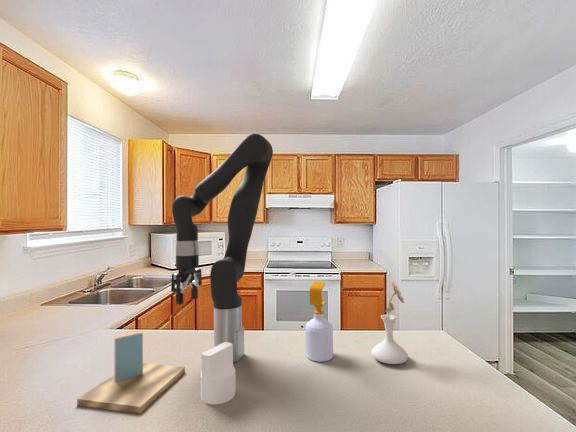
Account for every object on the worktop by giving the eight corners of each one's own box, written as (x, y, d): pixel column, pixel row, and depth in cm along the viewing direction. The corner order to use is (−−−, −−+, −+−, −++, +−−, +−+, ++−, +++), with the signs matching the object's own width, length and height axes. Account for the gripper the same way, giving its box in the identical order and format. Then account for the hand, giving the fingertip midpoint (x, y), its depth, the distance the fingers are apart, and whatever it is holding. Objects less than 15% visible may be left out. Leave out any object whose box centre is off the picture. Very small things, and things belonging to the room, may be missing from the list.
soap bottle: (336, 352, 104) (334, 281, 105) (328, 364, 96) (326, 286, 96) (311, 348, 108) (310, 279, 108) (302, 359, 100) (300, 284, 100)
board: (185, 372, 92) (184, 367, 92) (140, 413, 73) (140, 406, 73) (133, 367, 96) (133, 362, 96) (77, 405, 76) (77, 398, 76)
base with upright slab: (218, 408, 74) (217, 359, 74) (193, 397, 79) (192, 351, 79) (242, 390, 82) (241, 345, 82) (218, 381, 87) (217, 339, 87)
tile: (114, 379, 86) (113, 336, 86) (141, 371, 90) (140, 330, 90) (115, 382, 84) (115, 339, 84) (143, 374, 88) (142, 333, 88)
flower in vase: (399, 372, 90) (397, 287, 91) (365, 360, 98) (363, 282, 99) (415, 357, 100) (414, 280, 100) (383, 347, 108) (381, 277, 108)
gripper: (184, 255, 97) (184, 307, 96) (207, 252, 111) (208, 297, 110) (164, 255, 99) (164, 306, 98) (189, 252, 113) (189, 296, 112)
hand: (187, 301), depth 104 cm, fingers open, 8 cm apart
